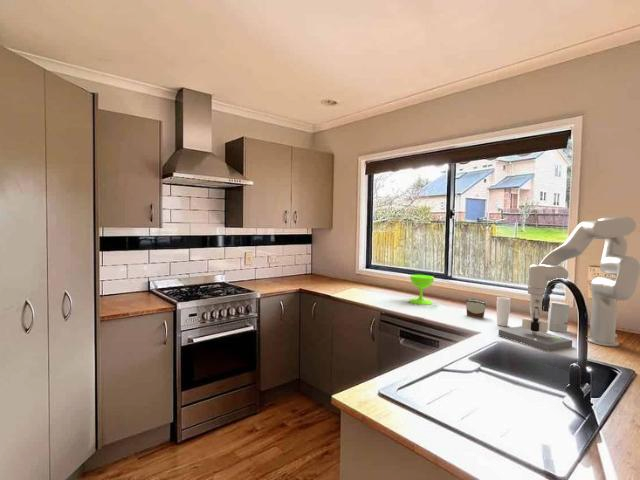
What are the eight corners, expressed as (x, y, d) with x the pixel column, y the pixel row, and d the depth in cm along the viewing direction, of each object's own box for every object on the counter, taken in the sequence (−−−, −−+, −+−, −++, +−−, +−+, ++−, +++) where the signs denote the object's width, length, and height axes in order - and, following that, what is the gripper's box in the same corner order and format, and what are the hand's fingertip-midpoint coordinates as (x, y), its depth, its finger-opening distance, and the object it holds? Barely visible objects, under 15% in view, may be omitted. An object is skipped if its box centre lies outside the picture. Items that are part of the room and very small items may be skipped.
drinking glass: (496, 322, 202) (498, 296, 201) (510, 325, 198) (512, 298, 197) (493, 325, 197) (495, 297, 196) (507, 327, 192) (509, 299, 192)
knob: (521, 332, 172) (522, 318, 172) (523, 331, 175) (523, 317, 174) (559, 339, 163) (560, 325, 162) (559, 338, 165) (560, 324, 165)
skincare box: (549, 330, 190) (551, 302, 190) (546, 327, 196) (548, 300, 195) (567, 332, 187) (569, 304, 187) (564, 330, 193) (566, 302, 192)
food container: (489, 317, 213) (490, 300, 213) (485, 319, 209) (486, 302, 209) (468, 313, 222) (469, 297, 221) (464, 315, 217) (465, 298, 217)
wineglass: (437, 303, 248) (439, 277, 248) (422, 305, 239) (423, 278, 239) (419, 299, 261) (420, 274, 261) (404, 300, 252) (405, 275, 252)
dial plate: (521, 331, 185) (522, 325, 185) (572, 346, 164) (572, 340, 164) (498, 335, 177) (498, 329, 177) (548, 351, 156) (548, 344, 155)
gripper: (548, 294, 160) (545, 335, 161) (545, 289, 175) (542, 327, 176) (528, 292, 164) (525, 332, 165) (527, 288, 179) (524, 324, 179)
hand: (534, 329), depth 170 cm, fingers closed on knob, 3 cm apart
